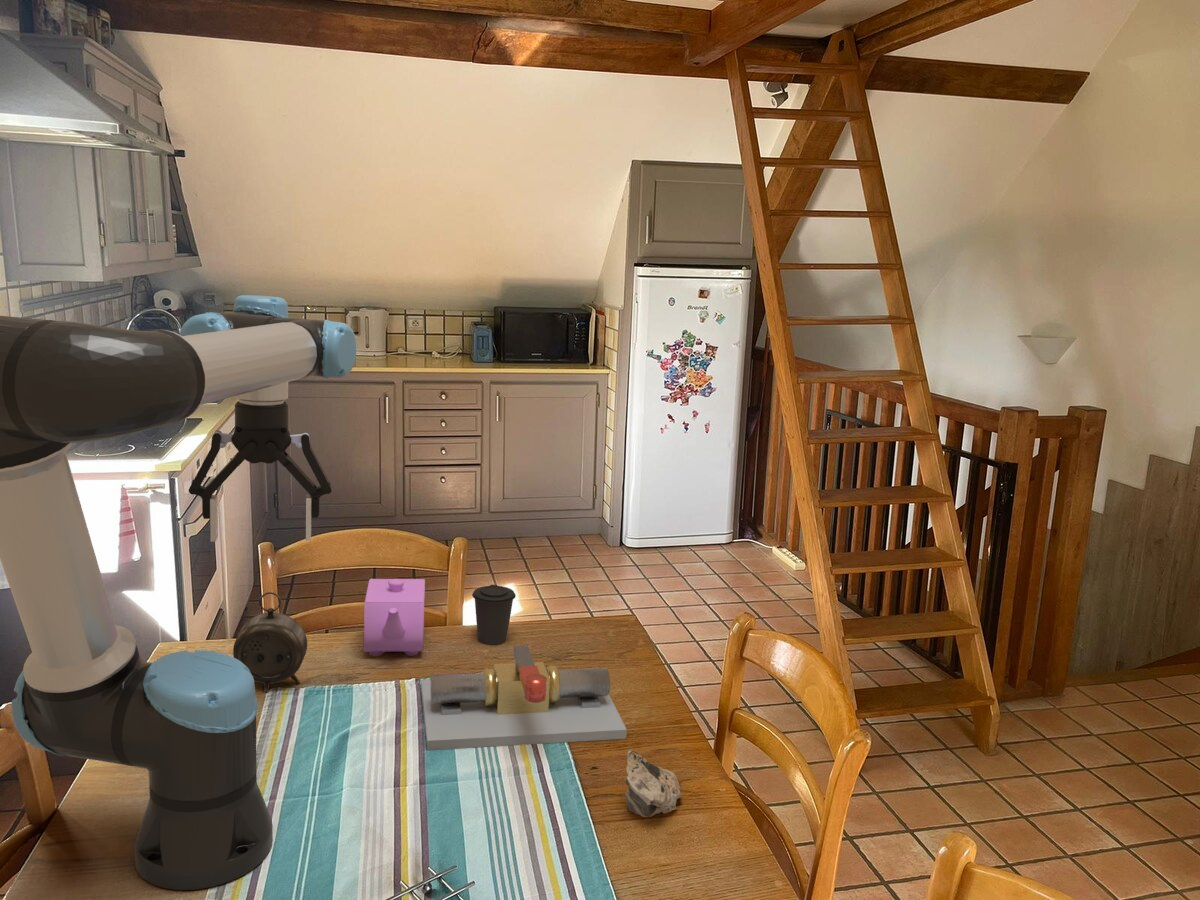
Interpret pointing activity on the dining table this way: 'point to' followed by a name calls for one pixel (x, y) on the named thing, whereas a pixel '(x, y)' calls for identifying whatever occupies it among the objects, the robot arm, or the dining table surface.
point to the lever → (529, 675)
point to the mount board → (519, 724)
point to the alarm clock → (271, 646)
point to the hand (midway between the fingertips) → (262, 538)
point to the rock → (650, 787)
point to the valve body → (517, 688)
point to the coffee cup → (493, 613)
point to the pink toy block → (394, 616)
